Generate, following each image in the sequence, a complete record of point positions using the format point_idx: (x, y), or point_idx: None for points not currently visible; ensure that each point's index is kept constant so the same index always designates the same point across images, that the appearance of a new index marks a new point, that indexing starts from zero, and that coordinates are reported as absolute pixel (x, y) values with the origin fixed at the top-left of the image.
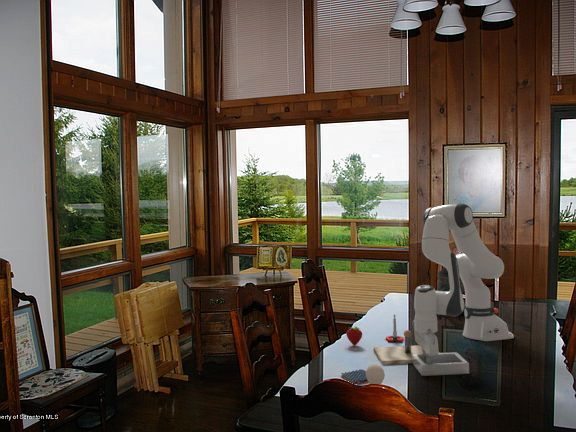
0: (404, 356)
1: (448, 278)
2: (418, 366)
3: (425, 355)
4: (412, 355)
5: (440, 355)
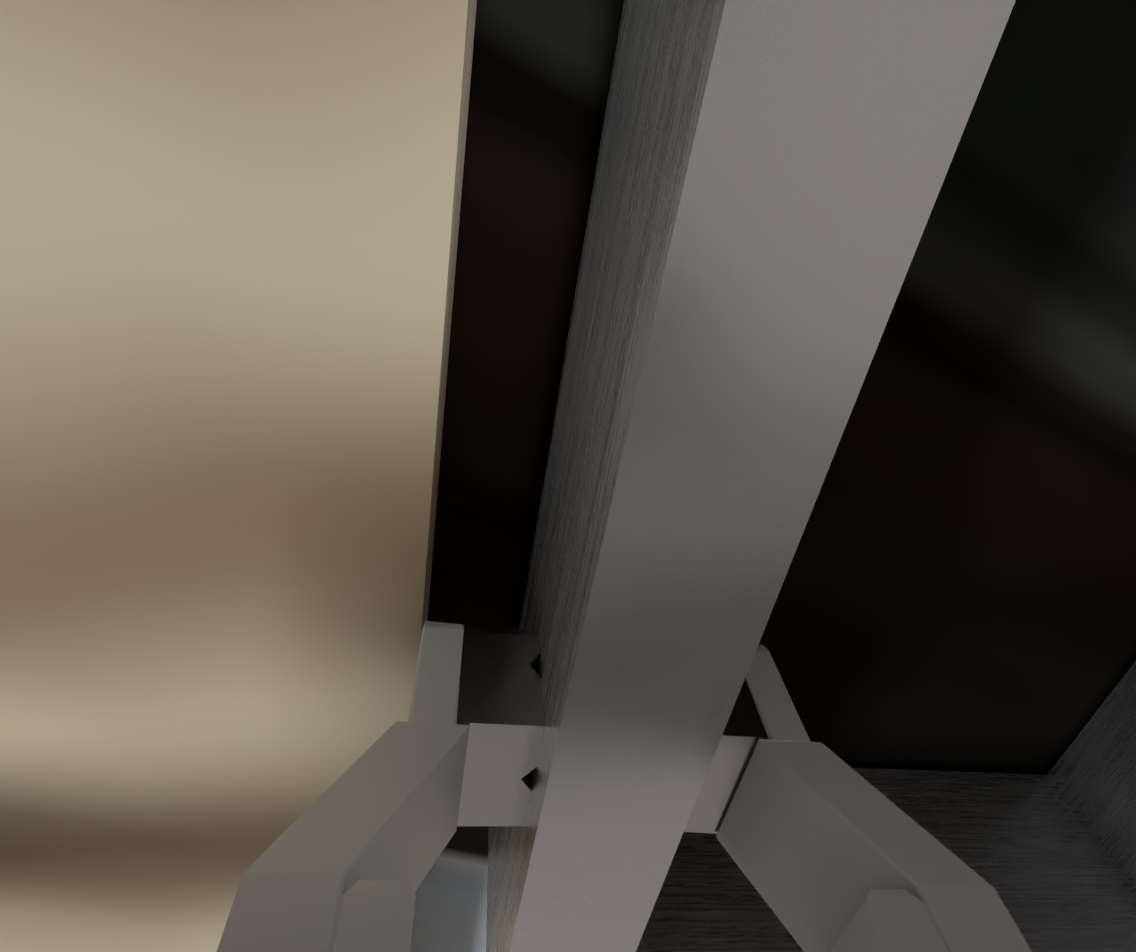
0: (163, 932)
1: None
2: None
3: (660, 856)
4: (77, 806)
5: (831, 352)
